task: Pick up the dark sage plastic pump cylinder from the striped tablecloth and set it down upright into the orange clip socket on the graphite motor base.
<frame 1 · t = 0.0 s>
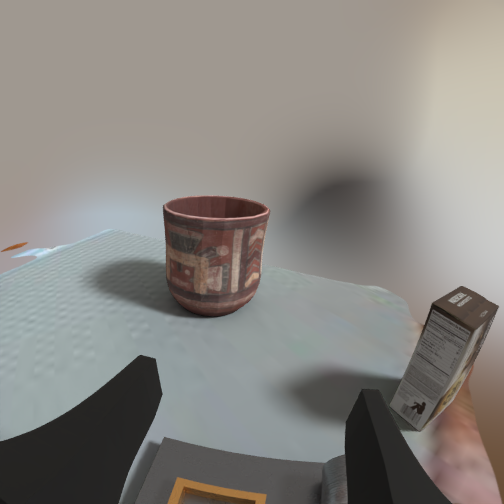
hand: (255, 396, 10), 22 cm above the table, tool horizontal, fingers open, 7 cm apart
coffee box: (421, 405, 35), on the table
pottery: (213, 300, 59), on the table
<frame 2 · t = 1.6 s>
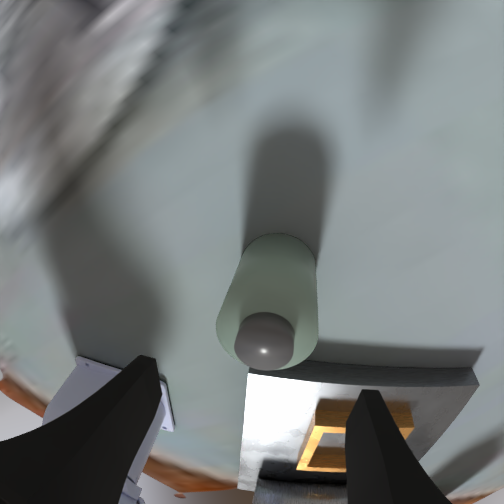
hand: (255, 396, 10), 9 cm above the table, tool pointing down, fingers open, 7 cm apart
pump: (278, 268, 19), on the table
motor base: (338, 442, 26), on the table
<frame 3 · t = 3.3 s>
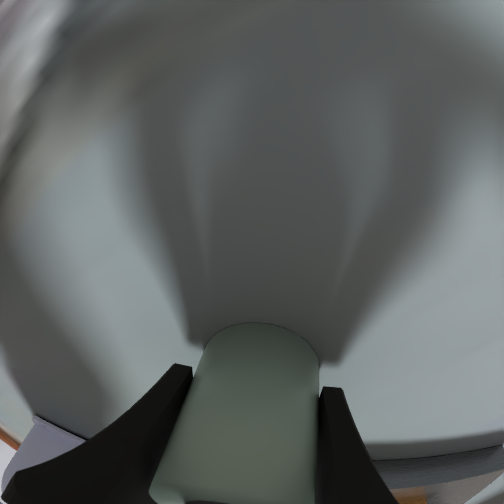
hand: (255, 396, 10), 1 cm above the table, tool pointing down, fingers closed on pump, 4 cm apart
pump: (260, 368, 11), on the table, touching gripper
when the fingers open (4 cm above the table, at t = 7.5 s): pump stays where it is, resting on motor base.
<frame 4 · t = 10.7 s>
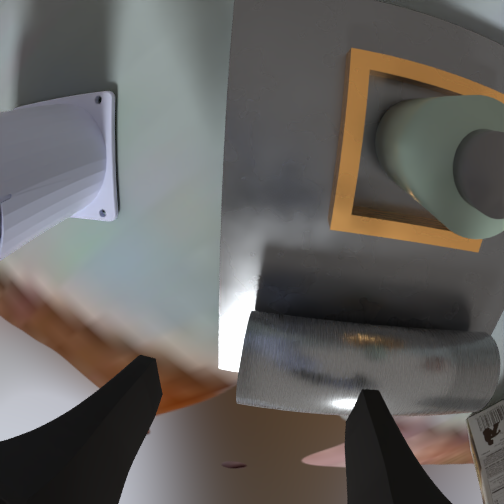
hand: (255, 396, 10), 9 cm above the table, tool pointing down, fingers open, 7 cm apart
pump: (419, 145, 13), point 2 cm above the table, touching motor base
coffee box: (491, 421, 23), on the table
motor base: (393, 218, 16), on the table
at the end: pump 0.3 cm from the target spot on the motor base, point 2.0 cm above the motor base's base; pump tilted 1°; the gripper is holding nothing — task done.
